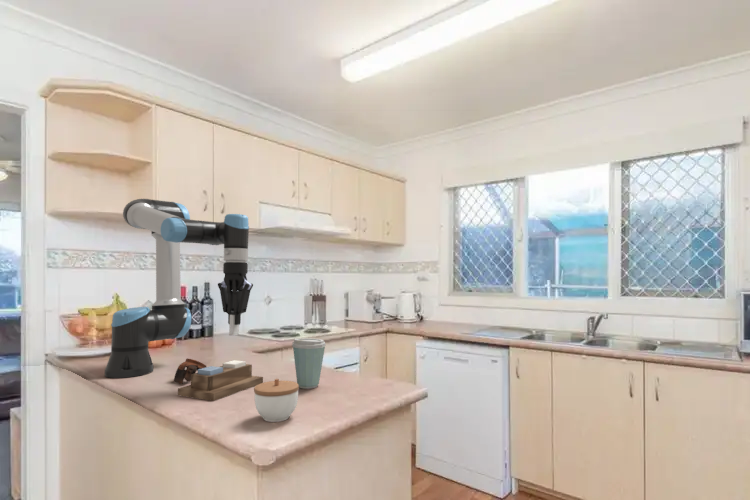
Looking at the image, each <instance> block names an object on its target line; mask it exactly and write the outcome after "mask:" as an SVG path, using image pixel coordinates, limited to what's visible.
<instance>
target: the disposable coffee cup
mask: <svg viewBox="0 0 750 500" xmlns="http://www.w3.org/2000/svg"><path fill="white" fill-rule="evenodd" d="M291 347H292V348H293V350H292V351H293V359H294V365H295V367H294V368H295V374H296V375H295V376H296V383H298V385H299V388H300V389H305V390H308V389H309V390H310V389H314V388H317V387H318V386H319V384H320V379H321V374H322V373H321V372H322V367H323V362H324V355H325V354H324V353H325V349H326V347H327V346H326V342H325V340H324V339H320V338H313V337H312V338H311V337H308V338H307V337H304V338H303V337H301V338H300V337H299V338H297V337H296V338H294V339H293V341H292V344H291Z"/></svg>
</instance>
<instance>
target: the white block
mask: <svg viewBox="0 0 750 500" xmlns="http://www.w3.org/2000/svg"><path fill="white" fill-rule="evenodd" d="M246 364H247V361H245V360H244V361H243V360H234V359H233V360H230V361H226V362H223V363H222V366H223V367H225V368H234V369H235V368H239V367H242V366H246Z"/></svg>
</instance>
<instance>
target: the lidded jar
mask: <svg viewBox="0 0 750 500" xmlns="http://www.w3.org/2000/svg"><path fill="white" fill-rule="evenodd" d="M253 392H254V404H255V409H256V410H257V411H256V412H257V413H258V414H259V416H260V417H261V418H263V420H264V421H265V422H267V423H268V422H269V423H279V422H283V421H284V422H285V421H286V420H288V419H289V418H290V416H291V415H292V414H293V413H294V411H295V410H296V408H297V404H298V400H299V385H298V383H297V381H291V380H280V379H279V378H274V380H271V381H263V383H261V384H258V385H256V386H254V387H253Z"/></svg>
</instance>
